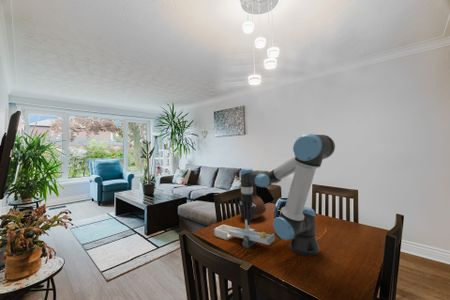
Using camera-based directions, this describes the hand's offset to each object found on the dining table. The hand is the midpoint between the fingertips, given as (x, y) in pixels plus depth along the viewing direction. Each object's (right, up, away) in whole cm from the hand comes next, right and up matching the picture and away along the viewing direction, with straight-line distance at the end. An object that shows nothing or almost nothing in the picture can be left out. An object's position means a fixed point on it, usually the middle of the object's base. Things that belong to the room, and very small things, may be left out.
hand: (247, 229), depth 129 cm
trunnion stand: (+1, -5, -9) cm, 11 cm away
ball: (+7, +3, -15) cm, 17 cm away
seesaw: (+3, -1, -7) cm, 8 cm away
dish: (-14, -5, +4) cm, 16 cm away
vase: (+8, -5, +33) cm, 34 cm away
